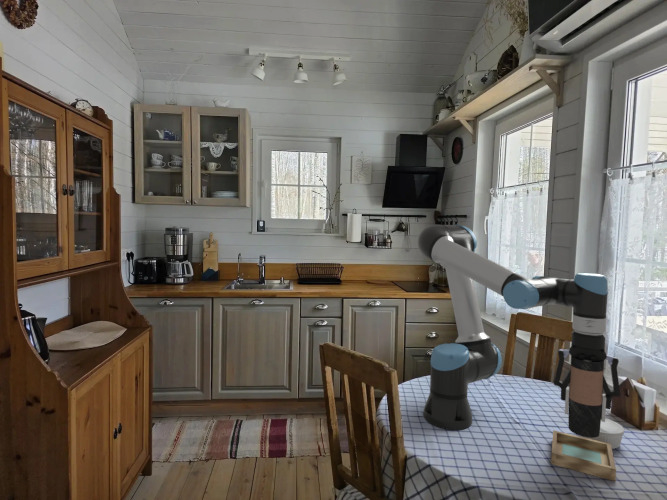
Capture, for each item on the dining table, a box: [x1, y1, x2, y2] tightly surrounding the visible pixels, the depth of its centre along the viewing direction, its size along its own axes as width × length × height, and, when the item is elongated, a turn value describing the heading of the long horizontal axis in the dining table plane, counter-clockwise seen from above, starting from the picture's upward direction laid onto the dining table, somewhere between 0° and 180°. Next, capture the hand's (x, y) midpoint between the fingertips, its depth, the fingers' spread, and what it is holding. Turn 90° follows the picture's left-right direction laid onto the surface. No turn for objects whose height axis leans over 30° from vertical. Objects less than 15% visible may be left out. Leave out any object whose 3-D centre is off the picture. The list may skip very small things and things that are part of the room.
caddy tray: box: [550, 429, 617, 482], centre depth 109 cm, size 14×14×3 cm
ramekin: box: [581, 417, 625, 450], centre depth 119 cm, size 11×11×5 cm
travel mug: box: [568, 355, 605, 438], centre depth 108 cm, size 8×8×20 cm
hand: (584, 415), depth 109 cm, fingers closed on travel mug, 8 cm apart
